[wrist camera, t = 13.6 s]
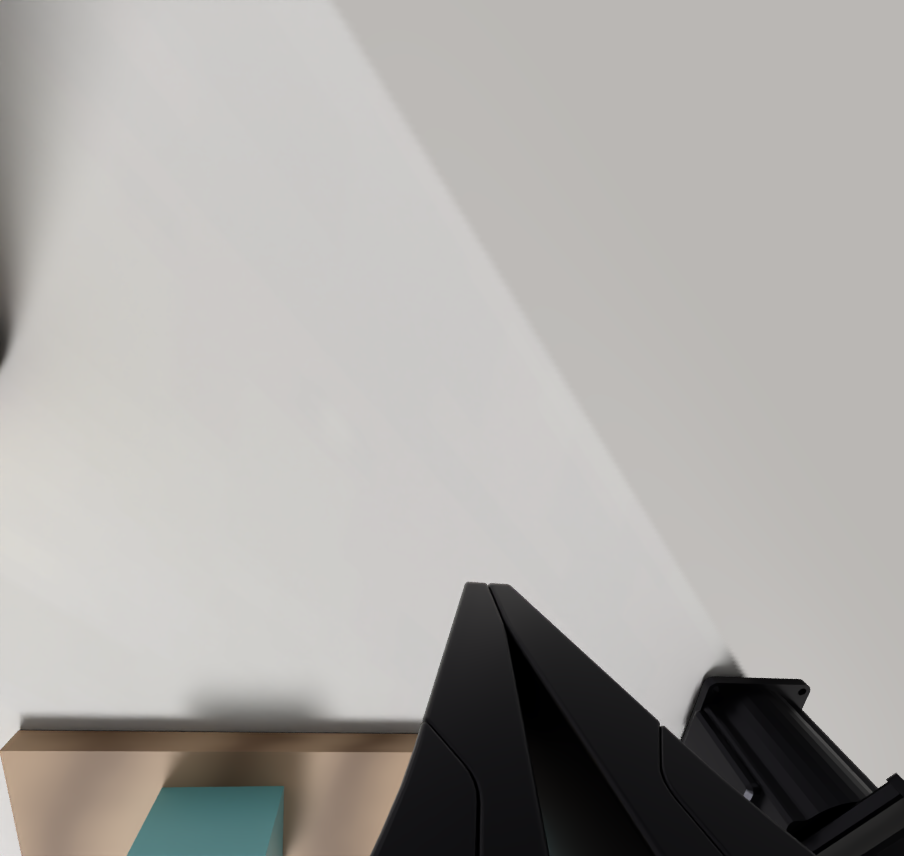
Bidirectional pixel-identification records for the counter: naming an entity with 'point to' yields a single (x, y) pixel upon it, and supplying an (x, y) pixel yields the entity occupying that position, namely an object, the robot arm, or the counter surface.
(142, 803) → the post base
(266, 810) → the teal block
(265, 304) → the counter surface
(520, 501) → the counter surface
